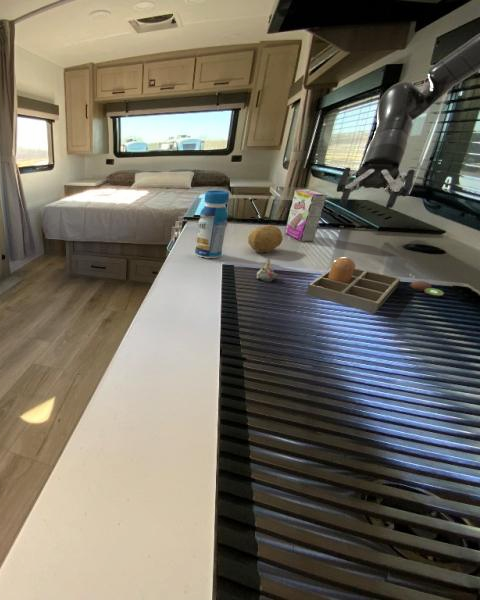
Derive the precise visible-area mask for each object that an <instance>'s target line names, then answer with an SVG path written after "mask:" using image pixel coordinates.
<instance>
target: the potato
mask: <svg viewBox="0 0 480 600" xmlns="http://www.w3.org/2000/svg"><path fill="white" fill-rule="evenodd" d="M283 239H284V237H283V233H282V230H281V229H280V228H279V227H277V226H275V225H274V224H266V225H263V226H262V225H261V226H259V227H255V228H254V229H252V230H251V231H250V232H249V233H248V235H247V241H248V242H247V243H248V245H249V246H250V248H251V249H253V250H254V251H255V252H258V253H261V254H262V253H267V252H271V251H274V250H275V249H276V248H278V247H279V246H280V245H282V242H283Z"/></svg>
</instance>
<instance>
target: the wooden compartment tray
mask: <svg viewBox="0 0 480 600" xmlns="http://www.w3.org/2000/svg"><path fill="white" fill-rule="evenodd" d="M330 269H331V268H329V269H328V270H326V271H325V272H324V273H322V274H321V275H320V276H318V277H317V278H315V279H314V280H313V281H311V282H310V283H309V284H308V285H307V288H306V291H305V295H307V296H311V297H314V298H318V299H321V300H325V301H329V302H332V303H335V304H339V305H343V306H346V307H349V308H353V309H356V310H360V311H363V312H367V313H371V314H374V315H375V314H376V313H377V312H378V310H379V309H380V308H381V307H382V306H383V304H384V303H385V302H386V301H387V300H388V298H390V296H391V295H392V294H393V293H394V292H395V290H396V289H397V288H398V285H399V284H400V281H401V278H400V277H397V276H393V275H387V274H383V273H379V272H375V271H368V270H364V269H360V268H357V267H355V270H354V273H353V276H352V278H351V281H350V284H346V283H342V282H338V281H334V280H330V279H327V278H328V275H329V272H330Z"/></svg>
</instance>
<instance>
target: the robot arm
mask: <svg viewBox="0 0 480 600" xmlns="http://www.w3.org/2000/svg"><path fill="white" fill-rule="evenodd" d="M478 71H480V32H479V33H478V34H477V35H475V36H474V37H472V38H471V39H469V40H468V41H467V42H465V43H463V44H462V45H461V46H459V47H457V48H456V49H455V50H454V51H452V52H450V53H449V54H448V55H446V56H445V57H444V58H442V59H441V60H439V61H438V62H436V63H435V64H434V65H433V66H431V67H430V68H429V69H428V71H427V78H428V80H429V85H428V86H427V87H426V88H425V89H424V90H423V91H420V90H419V89H418V87H417V86H416V85H415V84H414V83H412V82H410V81H408V80H407V81H399V82H397V83H395V84H393V85H391V86H390V87H389V88H388V89H387V90H386V91H385V92H384V93H383V94H382V96H381V97H380V99H379V101H378V105H377V113H376V114H377V115H376V123H377V124H376V129H375V131H374V135H373V137H372V140H370V143H369V145H368V146H367V149H366V152H365V155H364V157H363V160H362V162H361V166H360V167H359V168H358V169H357V170H354V169H351V167H345V168H344V170H343V172H342V174H341V177H340V178H339V181H338V182H337V186H336V189H335V190H336V191H335V192H337V193H342V195H341V197H340V202H339V203H340V204H341V206H342V207H346V206H347V202H348V201H349V197H350V195H351V193H352V192H354V191H357V190H359V189H361V188H362V187H363V188H364V189H371V188H373V189H381V188H382V189H383V191H384V192H385V193H387V194H388V195H389V196H388V198H387V201H386V204H385V207H384V210H386V211H388V210H389V209H391V208H392V209H393V207H394V206H395V203H396V201H397V198H398V197H407V196H408V195H409V192H410V190H411V188H412V185H413V181H414V178H415V177H414V176H415V173H416V171H415V170H414V169H409V170H408V171H399V169H400V165H401V164H402V163H401V162H402V161H403V157H404V155H405V152H406V148H407V146H408V141H409V137H410V133H411V131H412V128H413V123H414V121H413V120H415V119H417V118H419V117H420V116H421V115H423V114H424V113H425V112H426V111H427V110H429V108H431V107H432V106H433V105H434V104H435V103H436V102H437V101H438V100H439V99H441V98H442V97H443V96H445V94H446V93H448V91H450V90H451V89H452V88H453V87H455V86H456V85H458V84H460V83H461V82H463V81H465V80H466V79H468V78H470V77H471V76H472V75H474V74H476V73H477V72H478ZM353 177H355V178H354V179H353V181H351V182H350V183H348V184H346V183H347V181H348V180H350V179H351V178H353ZM397 179H400V181H401V183H403V185H402V187H399V186H398V184H397V182H396V180H397Z"/></svg>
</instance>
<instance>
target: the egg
mask: <svg viewBox="0 0 480 600" xmlns="http://www.w3.org/2000/svg"><path fill="white" fill-rule="evenodd" d="M355 268H357V267H356V262H355V261H354V260H353V259H352V258H350V257H346V256H342V257H338V258H336V259H335V260H334V261H333V262H332V263H331V266H330V268H329V269H330V272H329V275H328V278H327V279H330V280H334V281H338V282H342V283H346V284H350V281H351V278H352V276H353V273H354V270H355Z"/></svg>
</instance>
